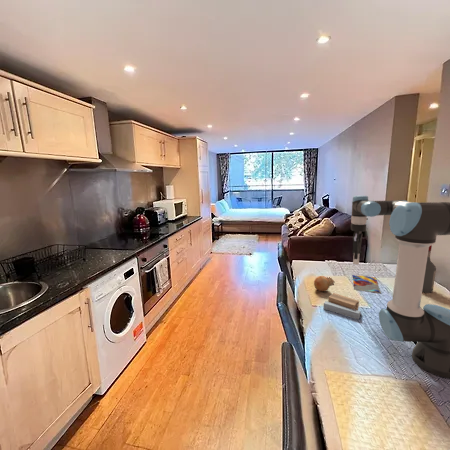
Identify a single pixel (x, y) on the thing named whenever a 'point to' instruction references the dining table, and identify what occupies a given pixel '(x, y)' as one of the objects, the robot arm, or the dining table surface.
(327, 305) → the grey rectangular bar
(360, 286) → the relief map
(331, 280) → the wooden fragment
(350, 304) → the block
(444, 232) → the robot arm
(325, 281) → the onion
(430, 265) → the liquor
